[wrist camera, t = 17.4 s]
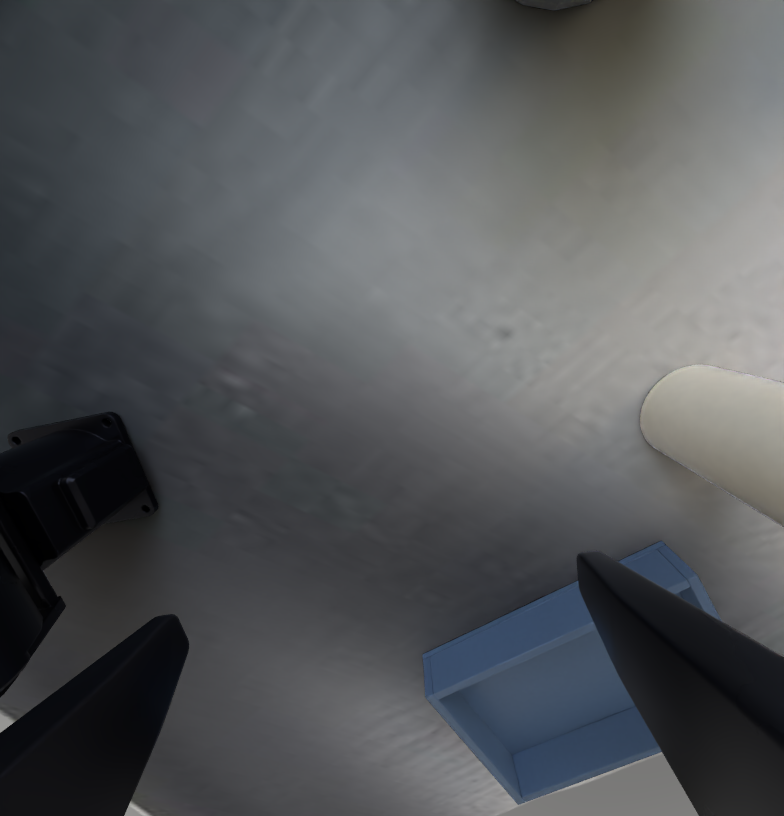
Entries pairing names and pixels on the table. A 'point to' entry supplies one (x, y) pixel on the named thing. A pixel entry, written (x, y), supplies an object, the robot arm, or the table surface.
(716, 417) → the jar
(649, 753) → the tray
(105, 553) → the table surface
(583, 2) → the thermos
